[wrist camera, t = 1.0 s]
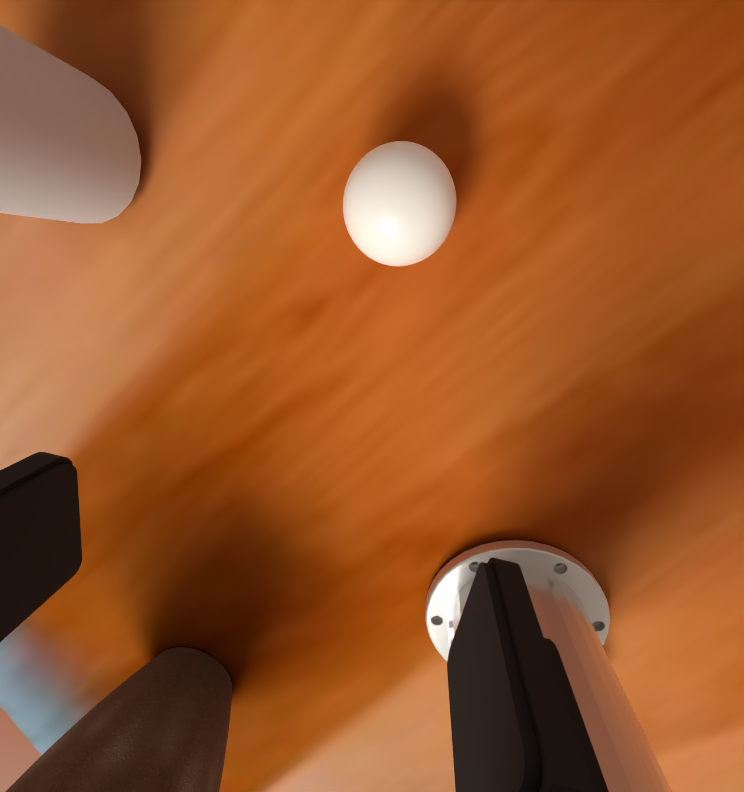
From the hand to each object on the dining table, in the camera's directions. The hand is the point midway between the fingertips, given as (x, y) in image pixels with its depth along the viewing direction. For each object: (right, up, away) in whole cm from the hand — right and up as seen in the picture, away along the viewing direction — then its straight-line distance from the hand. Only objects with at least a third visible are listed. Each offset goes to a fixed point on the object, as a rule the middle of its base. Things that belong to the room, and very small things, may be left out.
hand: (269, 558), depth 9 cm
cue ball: (+4, +13, +11) cm, 17 cm away
